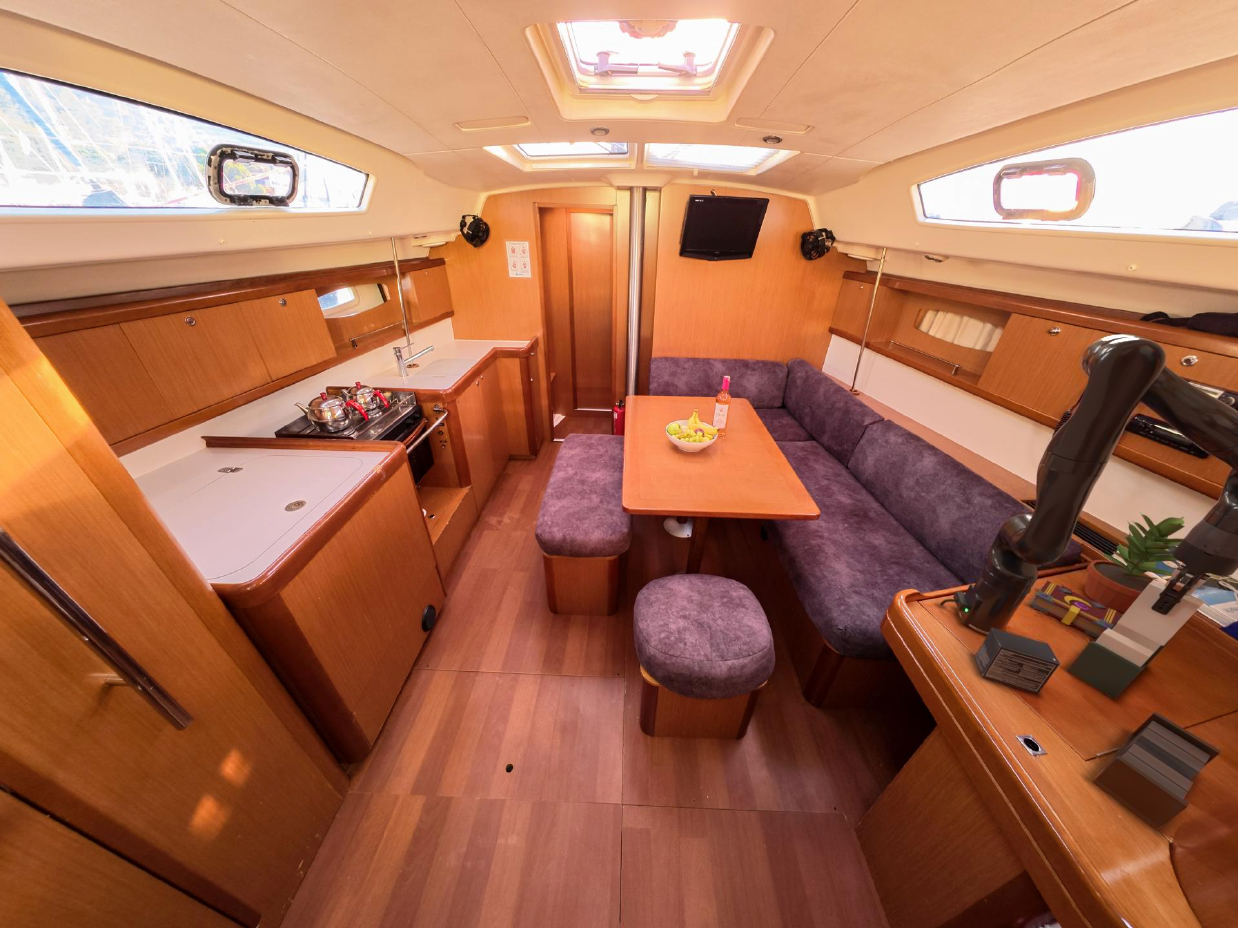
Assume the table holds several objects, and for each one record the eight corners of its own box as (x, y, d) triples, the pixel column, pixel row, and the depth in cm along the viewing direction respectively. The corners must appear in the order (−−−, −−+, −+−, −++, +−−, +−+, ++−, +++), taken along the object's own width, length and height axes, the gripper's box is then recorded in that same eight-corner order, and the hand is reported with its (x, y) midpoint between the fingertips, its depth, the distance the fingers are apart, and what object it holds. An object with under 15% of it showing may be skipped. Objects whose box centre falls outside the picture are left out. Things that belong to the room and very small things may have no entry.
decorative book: (1039, 590, 120) (1048, 577, 118) (1118, 627, 108) (1129, 613, 106) (1028, 606, 114) (1037, 593, 112) (1110, 646, 102) (1122, 633, 100)
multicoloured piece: (1114, 699, 89) (1150, 661, 83) (1067, 670, 96) (1097, 632, 90) (1145, 666, 97) (1180, 629, 91) (1100, 641, 104) (1129, 604, 98)
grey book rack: (1156, 830, 68) (1187, 806, 65) (1092, 781, 75) (1117, 757, 71) (1192, 774, 76) (1221, 750, 73) (1131, 734, 83) (1155, 711, 79)
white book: (1163, 646, 86) (1200, 605, 81) (1116, 622, 92) (1149, 583, 87) (1167, 641, 88) (1205, 601, 82) (1121, 618, 93) (1154, 579, 88)
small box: (1026, 672, 95) (1049, 642, 90) (1038, 696, 90) (1063, 665, 85) (972, 655, 99) (991, 625, 94) (980, 677, 93) (1001, 646, 89)
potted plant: (1122, 588, 122) (1187, 505, 108) (1161, 625, 109) (1241, 536, 95) (1060, 575, 126) (1115, 494, 113) (1091, 609, 113) (1157, 523, 100)
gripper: (1197, 527, 85) (1147, 587, 93) (1175, 544, 79) (1123, 607, 87) (1257, 547, 79) (1198, 610, 87) (1238, 567, 73) (1177, 633, 81)
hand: (1161, 608), depth 87 cm, fingers closed on white book, 3 cm apart
